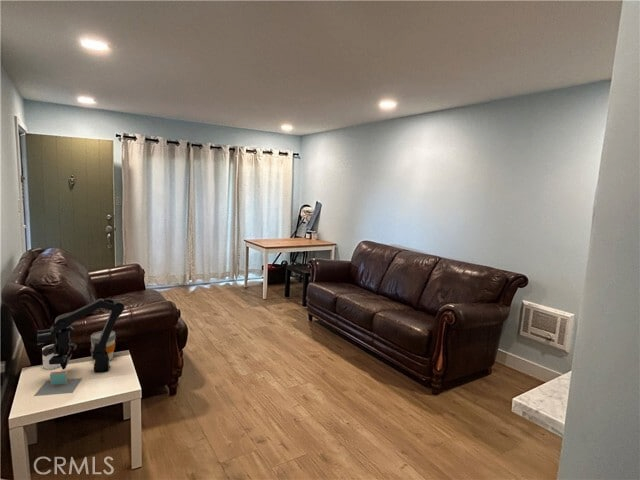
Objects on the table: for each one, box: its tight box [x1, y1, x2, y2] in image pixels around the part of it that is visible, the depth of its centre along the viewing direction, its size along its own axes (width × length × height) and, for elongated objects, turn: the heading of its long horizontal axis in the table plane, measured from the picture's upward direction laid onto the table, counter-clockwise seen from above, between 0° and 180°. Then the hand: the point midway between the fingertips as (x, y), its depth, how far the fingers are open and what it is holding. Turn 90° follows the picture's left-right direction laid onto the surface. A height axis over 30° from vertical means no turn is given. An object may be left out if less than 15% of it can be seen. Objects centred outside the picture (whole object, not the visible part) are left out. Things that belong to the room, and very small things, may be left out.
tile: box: [49, 370, 69, 385], centre depth 182 cm, size 7×2×6 cm, turn 106°
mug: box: [41, 343, 61, 370], centre depth 200 cm, size 12×9×11 cm
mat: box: [33, 377, 83, 397], centre depth 180 cm, size 16×14×1 cm
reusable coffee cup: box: [90, 330, 117, 361], centre depth 210 cm, size 13×13×15 cm
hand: (64, 369), depth 188 cm, fingers closed
